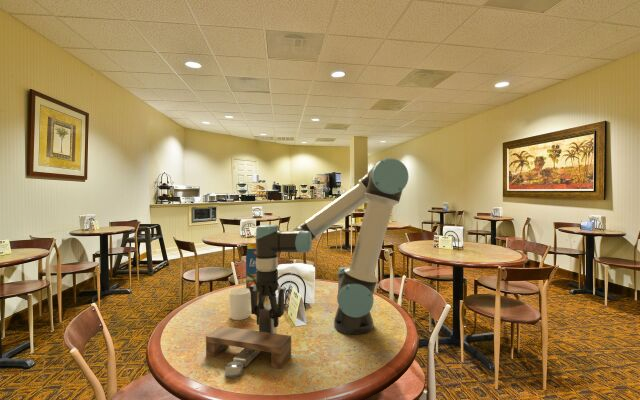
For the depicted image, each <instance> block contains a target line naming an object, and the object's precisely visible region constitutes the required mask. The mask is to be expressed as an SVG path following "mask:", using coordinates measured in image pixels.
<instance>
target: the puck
mask: <svg viewBox="0 0 640 400" xmlns="http://www.w3.org/2000/svg"><path fill="white" fill-rule="evenodd" d="M224 374H225V375H224V376H225V377H226V378H227V379H232V380H233V379H238V378H240V377H242V375H243V374H244V367H243V363H242V362H240V361H230V362H228V363H227V364H225V366H224Z"/></svg>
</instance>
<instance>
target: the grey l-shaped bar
mask: <svg viewBox="0 0 640 400" xmlns="http://www.w3.org/2000/svg"><path fill="white" fill-rule="evenodd" d="M272 317H273V314H272V309H271V304H268V303H264V306H262V307H261V308H260V309H259V325H258V331H260V332H267V333H271V318H272ZM261 352H262V351H260V350H253V349H247V348H243V349H242V350H241V351H240V352H238V353H237V354H236V355H235V356H234V357H233V361H240V362H242V363H243V368H246V367H247V366H248V365H249V364H250V363H251V362H252V361H253V360H254V359H255V358H257V356H258V355H259V354H260V353H261ZM233 361H232V362H233Z"/></svg>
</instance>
